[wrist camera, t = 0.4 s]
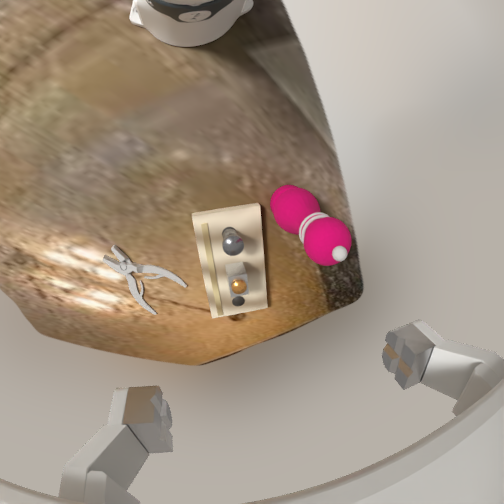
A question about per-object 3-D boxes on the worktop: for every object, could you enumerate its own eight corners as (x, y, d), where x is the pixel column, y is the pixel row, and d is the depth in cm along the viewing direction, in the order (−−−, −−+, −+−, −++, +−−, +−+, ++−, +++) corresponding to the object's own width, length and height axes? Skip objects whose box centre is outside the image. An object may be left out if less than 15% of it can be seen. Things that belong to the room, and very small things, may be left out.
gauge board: (191, 213, 45) (191, 216, 44) (258, 202, 47) (260, 206, 45) (211, 313, 55) (212, 318, 54) (265, 303, 57) (267, 308, 55)
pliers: (154, 318, 52) (92, 271, 45) (154, 313, 53) (94, 267, 46) (188, 287, 50) (123, 234, 43) (187, 283, 52) (125, 230, 45)
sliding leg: (224, 262, 49) (228, 279, 44) (241, 259, 49) (247, 275, 44) (227, 281, 51) (231, 299, 46) (243, 278, 51) (249, 296, 46)
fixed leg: (218, 226, 46) (221, 238, 42) (237, 223, 46) (242, 234, 42) (220, 243, 47) (224, 257, 43) (239, 240, 48) (245, 253, 44)
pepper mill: (258, 209, 48) (300, 270, 30) (282, 173, 45) (340, 215, 28) (291, 228, 50) (344, 292, 33) (314, 195, 48) (380, 244, 31)
